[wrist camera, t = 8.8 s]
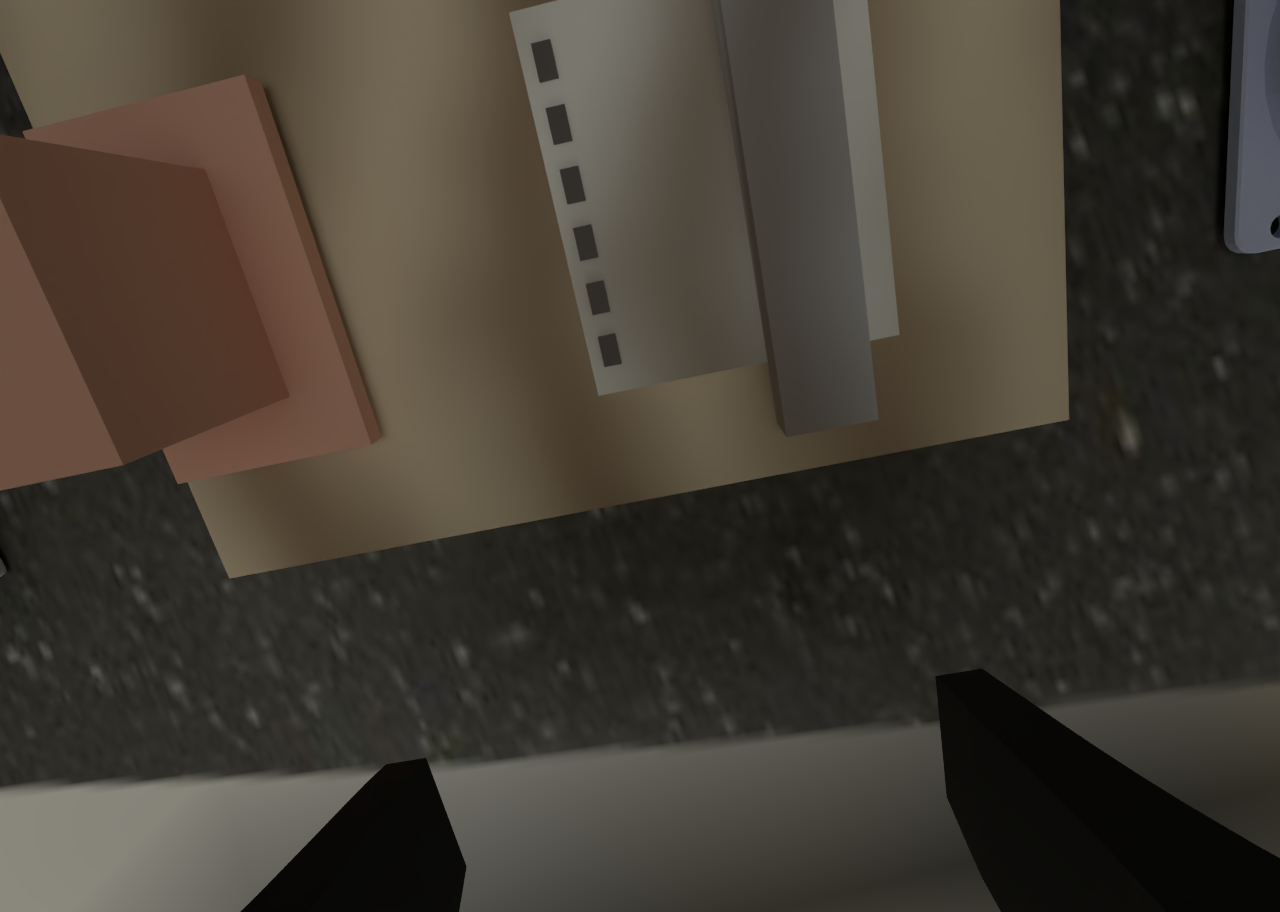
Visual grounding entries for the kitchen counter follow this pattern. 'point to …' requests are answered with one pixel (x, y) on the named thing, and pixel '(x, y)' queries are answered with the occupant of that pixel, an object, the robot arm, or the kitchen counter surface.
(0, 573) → the medicine box
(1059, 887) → the robot arm
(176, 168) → the stub
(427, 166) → the board
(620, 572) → the kitchen counter surface
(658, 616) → the kitchen counter surface
